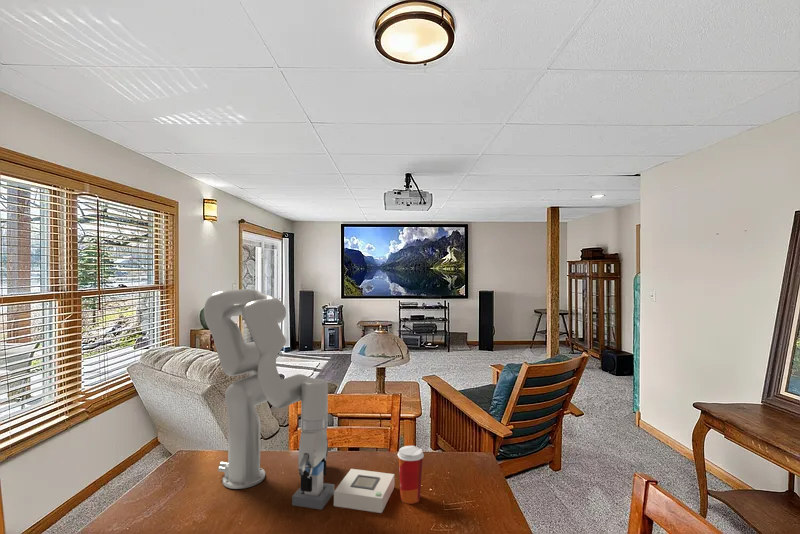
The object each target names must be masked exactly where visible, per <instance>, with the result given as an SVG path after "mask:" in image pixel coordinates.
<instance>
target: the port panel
mask: <svg viewBox="0 0 800 534" xmlns="http://www.w3.org/2000/svg"><path fill="white" fill-rule="evenodd" d="M394 488H395V473H390V472H389V473H388V472H387V473H386V472H379V471H371V470H364V469H357V468H356V469H355V468H350V470H349V471H348V472H347V473H346V475H345V476H344V477H343V479H342V480H341V481H340V483H339V484H338V485H337V487H336V488H335V489H334V494H333V507H337V508H345V509H352V510H358V511H366V512H370V513H379V514H382V513H383V511H384V510H385V507H386V505H387V503H388V502H389V499H390V498H391V496H392V495H391V494H392V493H393V491H394Z"/></svg>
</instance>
